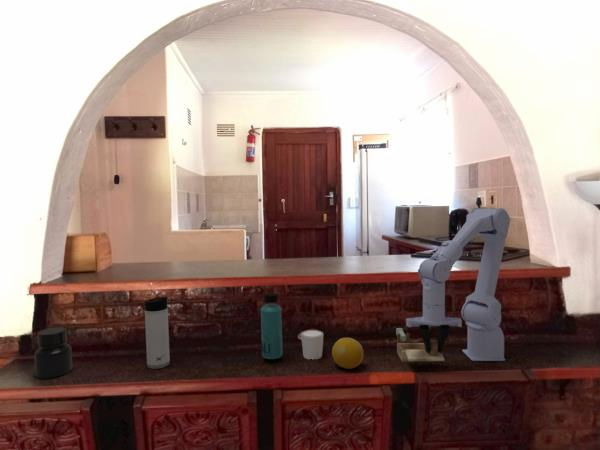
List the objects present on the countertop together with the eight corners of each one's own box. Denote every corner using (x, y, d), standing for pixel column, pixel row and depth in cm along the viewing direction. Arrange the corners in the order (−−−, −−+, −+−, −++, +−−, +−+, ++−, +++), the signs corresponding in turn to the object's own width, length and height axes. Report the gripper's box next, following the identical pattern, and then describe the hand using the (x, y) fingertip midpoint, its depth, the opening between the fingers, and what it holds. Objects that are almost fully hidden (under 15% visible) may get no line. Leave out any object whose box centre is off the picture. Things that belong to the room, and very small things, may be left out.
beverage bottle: (284, 355, 121) (283, 291, 120) (281, 364, 115) (280, 296, 114) (263, 355, 122) (262, 291, 121) (259, 364, 115) (257, 296, 114)
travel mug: (163, 369, 113) (160, 300, 111) (142, 368, 114) (139, 299, 113) (174, 361, 119) (172, 295, 118) (154, 359, 120) (152, 294, 119)
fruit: (365, 362, 115) (364, 335, 115) (361, 374, 108) (361, 345, 107) (335, 359, 118) (334, 333, 117) (329, 371, 110) (329, 342, 109)
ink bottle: (77, 364, 118) (75, 324, 117) (69, 376, 109) (66, 334, 109) (40, 368, 115) (38, 327, 115) (28, 381, 107) (26, 337, 106)
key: (402, 334, 128) (402, 328, 128) (407, 341, 122) (407, 335, 121) (396, 334, 128) (396, 328, 128) (400, 341, 122) (400, 335, 122)
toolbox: (429, 351, 123) (429, 333, 122) (437, 361, 115) (437, 342, 114) (396, 351, 123) (396, 333, 122) (402, 362, 115) (402, 342, 115)
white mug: (324, 360, 117) (324, 337, 117) (301, 360, 118) (300, 337, 117) (323, 351, 124) (323, 329, 124) (301, 351, 124) (301, 329, 124)
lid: (438, 351, 113) (438, 337, 113) (444, 360, 106) (444, 346, 106) (405, 351, 114) (404, 337, 114) (408, 360, 108) (408, 346, 107)
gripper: (455, 299, 113) (454, 346, 113) (403, 299, 113) (403, 346, 114) (464, 305, 106) (464, 355, 106) (409, 306, 106) (409, 356, 107)
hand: (433, 351), depth 110 cm, fingers closed on lid, 3 cm apart
